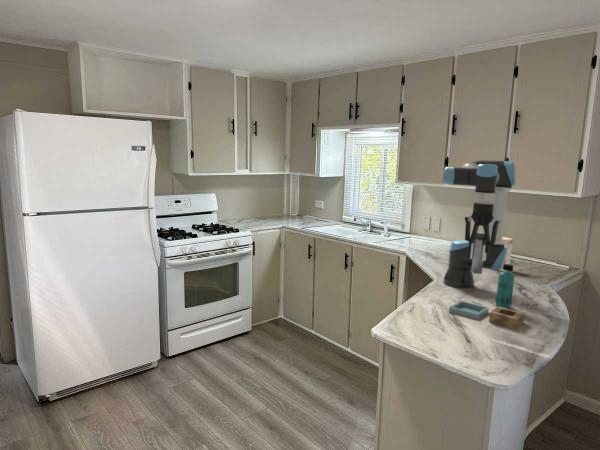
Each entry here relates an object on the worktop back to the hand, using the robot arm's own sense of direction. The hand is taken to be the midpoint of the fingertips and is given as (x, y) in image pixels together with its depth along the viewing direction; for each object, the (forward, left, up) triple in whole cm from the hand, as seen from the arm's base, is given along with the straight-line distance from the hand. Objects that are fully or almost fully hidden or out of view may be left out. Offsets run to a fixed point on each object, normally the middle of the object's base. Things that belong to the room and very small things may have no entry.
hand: (477, 259), depth 176 cm
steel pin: (0, 0, -6) cm, 6 cm away
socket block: (+14, 0, -24) cm, 28 cm away
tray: (-1, 0, -24) cm, 24 cm away
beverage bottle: (+7, +19, -24) cm, 31 cm away
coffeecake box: (-20, +91, -24) cm, 96 cm away
